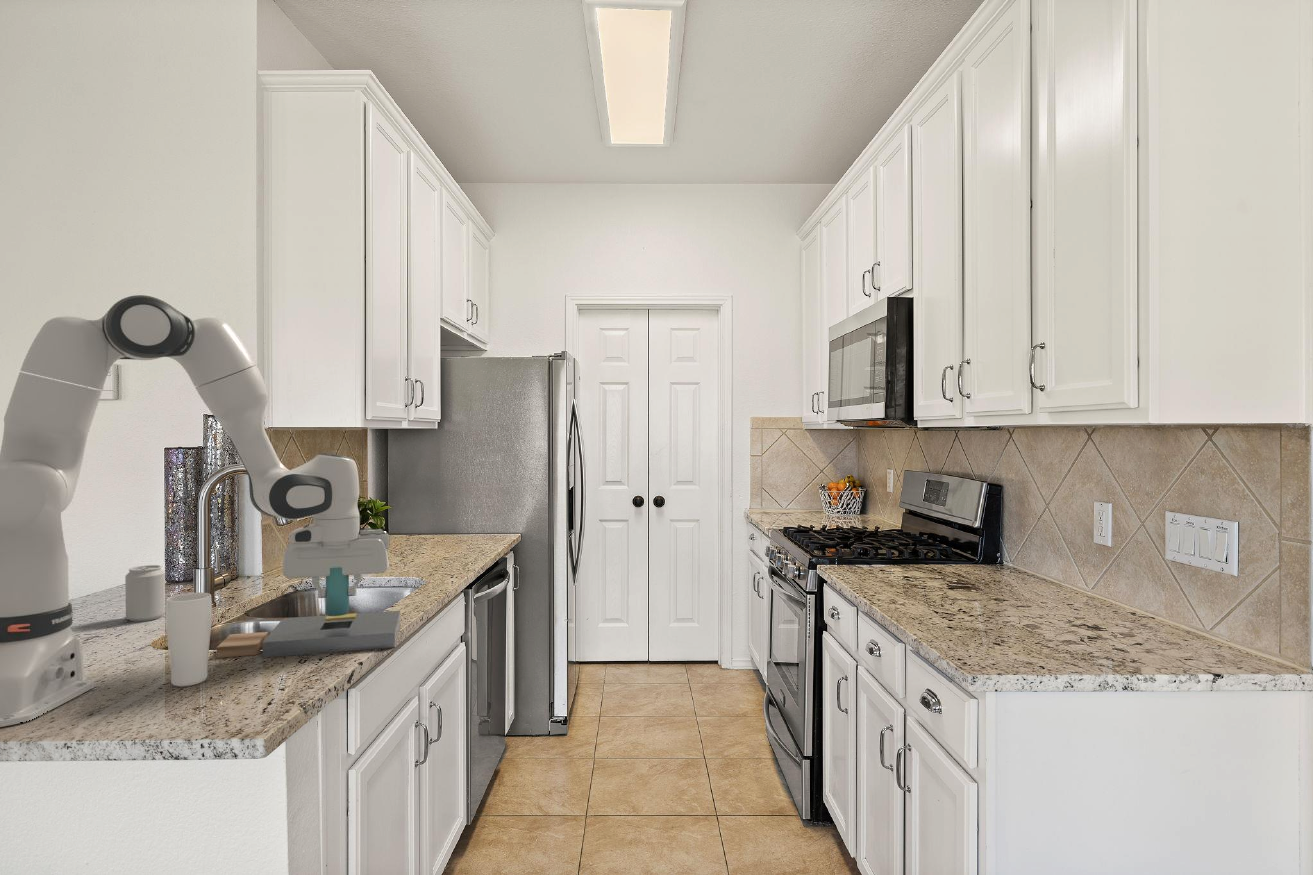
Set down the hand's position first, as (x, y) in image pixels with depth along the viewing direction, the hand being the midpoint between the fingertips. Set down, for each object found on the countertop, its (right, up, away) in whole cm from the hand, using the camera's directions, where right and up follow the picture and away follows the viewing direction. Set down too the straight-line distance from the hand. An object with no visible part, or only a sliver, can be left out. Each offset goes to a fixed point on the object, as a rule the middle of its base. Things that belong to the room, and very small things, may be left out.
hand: (337, 596), depth 149 cm
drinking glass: (-15, -10, -25) cm, 31 cm away
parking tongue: (-16, -9, -7) cm, 20 cm away
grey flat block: (0, -9, 0) cm, 9 cm away
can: (-52, -9, +16) cm, 55 cm away
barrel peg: (0, -4, 0) cm, 4 cm away
